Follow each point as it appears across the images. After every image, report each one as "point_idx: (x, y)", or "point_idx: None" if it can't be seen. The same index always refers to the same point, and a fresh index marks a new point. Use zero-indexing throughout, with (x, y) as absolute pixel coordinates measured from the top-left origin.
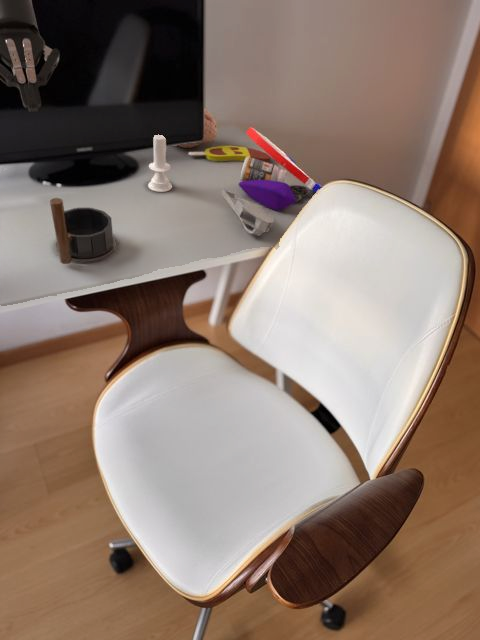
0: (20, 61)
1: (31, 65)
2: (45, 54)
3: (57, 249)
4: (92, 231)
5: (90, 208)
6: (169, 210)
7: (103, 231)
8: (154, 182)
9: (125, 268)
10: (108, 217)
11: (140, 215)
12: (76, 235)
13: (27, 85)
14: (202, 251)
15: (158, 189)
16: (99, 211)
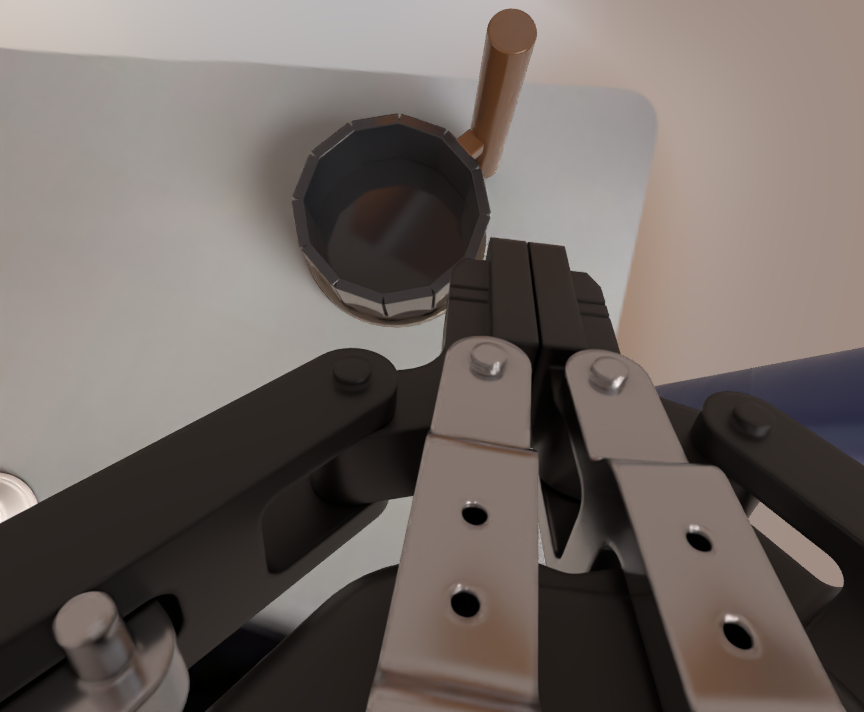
0: (601, 577)
1: (466, 440)
2: (131, 693)
3: (485, 234)
4: (357, 271)
5: (337, 281)
6: (50, 344)
7: (350, 125)
8: (3, 510)
9: (331, 95)
10: (300, 201)
11: (160, 349)
12: (440, 135)
13: (551, 336)
14: (79, 85)
15: (12, 487)
16: (314, 250)
